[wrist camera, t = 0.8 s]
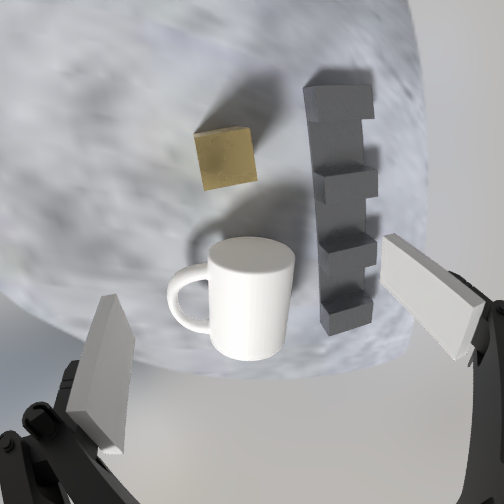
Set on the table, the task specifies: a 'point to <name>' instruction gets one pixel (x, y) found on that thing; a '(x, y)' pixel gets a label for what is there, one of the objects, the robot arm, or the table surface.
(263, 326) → the mug
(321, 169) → the rail
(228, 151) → the block
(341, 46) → the table surface
